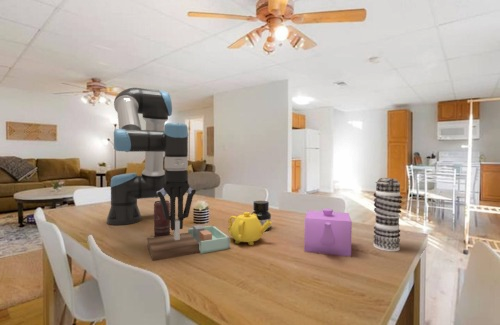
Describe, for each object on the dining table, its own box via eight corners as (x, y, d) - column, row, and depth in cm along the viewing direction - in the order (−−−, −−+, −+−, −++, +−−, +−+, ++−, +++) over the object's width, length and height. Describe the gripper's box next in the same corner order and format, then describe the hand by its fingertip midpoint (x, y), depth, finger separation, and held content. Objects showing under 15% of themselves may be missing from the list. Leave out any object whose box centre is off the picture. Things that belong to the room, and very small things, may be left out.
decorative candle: (390, 253, 89) (392, 180, 88) (366, 245, 97) (368, 178, 96) (406, 249, 93) (408, 179, 92) (382, 241, 102) (384, 177, 101)
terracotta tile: (199, 231, 95) (207, 230, 96) (199, 244, 95) (207, 243, 96) (203, 235, 90) (212, 233, 92) (203, 249, 91) (212, 247, 92)
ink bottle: (259, 232, 112) (259, 204, 111) (246, 228, 118) (246, 201, 118) (275, 228, 118) (275, 202, 118) (261, 224, 125) (262, 199, 124)
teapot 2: (302, 259, 84) (303, 216, 83) (307, 236, 108) (308, 202, 107) (353, 265, 80) (354, 220, 79) (347, 239, 104) (347, 204, 103)
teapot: (272, 244, 98) (273, 214, 98) (239, 249, 92) (239, 218, 92) (255, 233, 111) (255, 207, 111) (225, 237, 105) (225, 210, 105)
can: (165, 237, 104) (165, 203, 104) (151, 236, 106) (151, 202, 105) (173, 233, 110) (173, 200, 110) (159, 232, 112) (159, 199, 111)
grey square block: (193, 225, 102) (200, 224, 103) (193, 238, 102) (200, 237, 103) (196, 229, 97) (204, 228, 99) (196, 242, 98) (204, 241, 99)
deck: (147, 246, 95) (147, 238, 95) (188, 240, 102) (188, 232, 102) (152, 260, 83) (152, 251, 82) (199, 252, 90) (199, 243, 89)
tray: (188, 238, 103) (188, 228, 103) (213, 235, 108) (213, 225, 108) (201, 253, 88) (201, 242, 88) (229, 248, 93) (229, 237, 93)
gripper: (157, 171, 82) (158, 245, 83) (198, 169, 88) (198, 239, 89) (154, 169, 88) (154, 238, 89) (192, 168, 94) (192, 233, 95)
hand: (176, 238), depth 89 cm, fingers closed
